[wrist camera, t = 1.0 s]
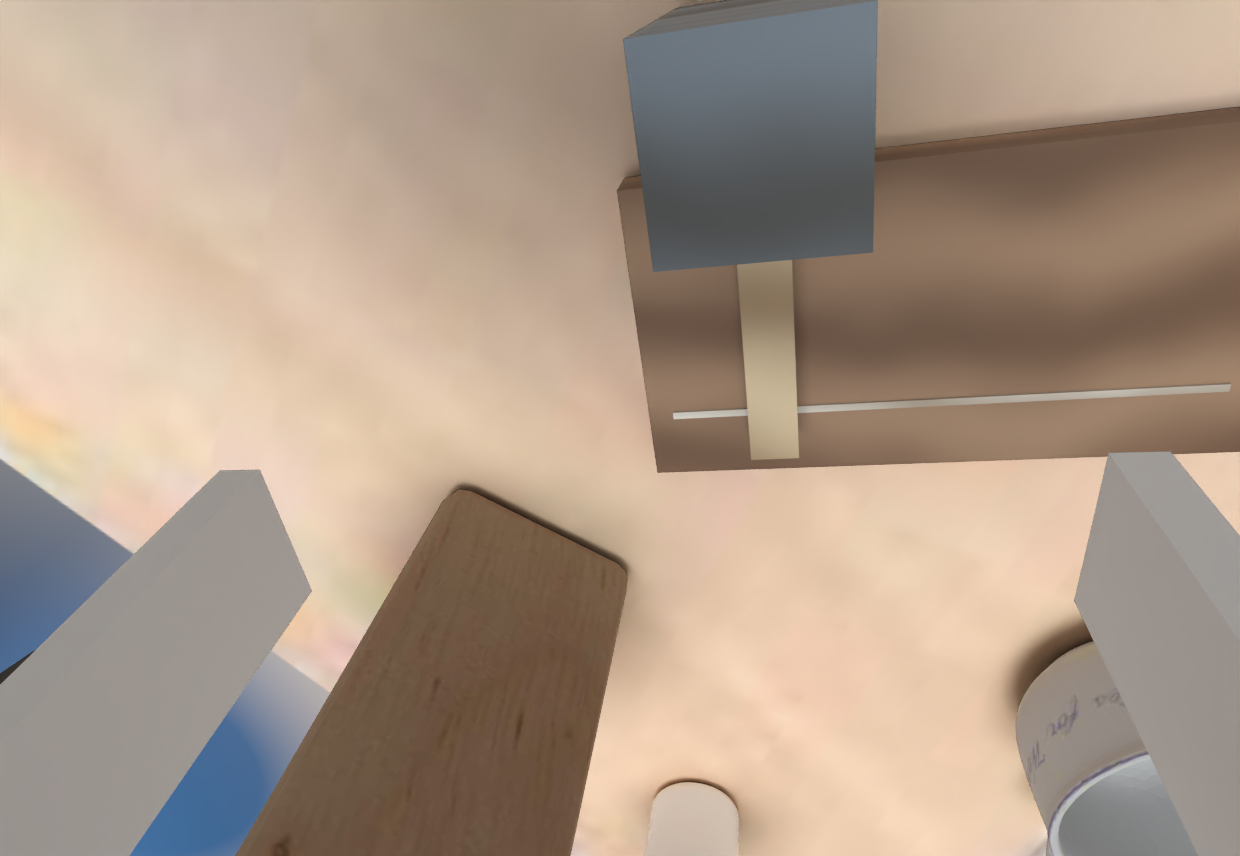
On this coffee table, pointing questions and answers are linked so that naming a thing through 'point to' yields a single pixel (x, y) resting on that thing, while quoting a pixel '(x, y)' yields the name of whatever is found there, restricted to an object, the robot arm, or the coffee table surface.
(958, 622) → the coffee table surface
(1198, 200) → the board
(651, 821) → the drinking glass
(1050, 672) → the teacup
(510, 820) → the wooden block
